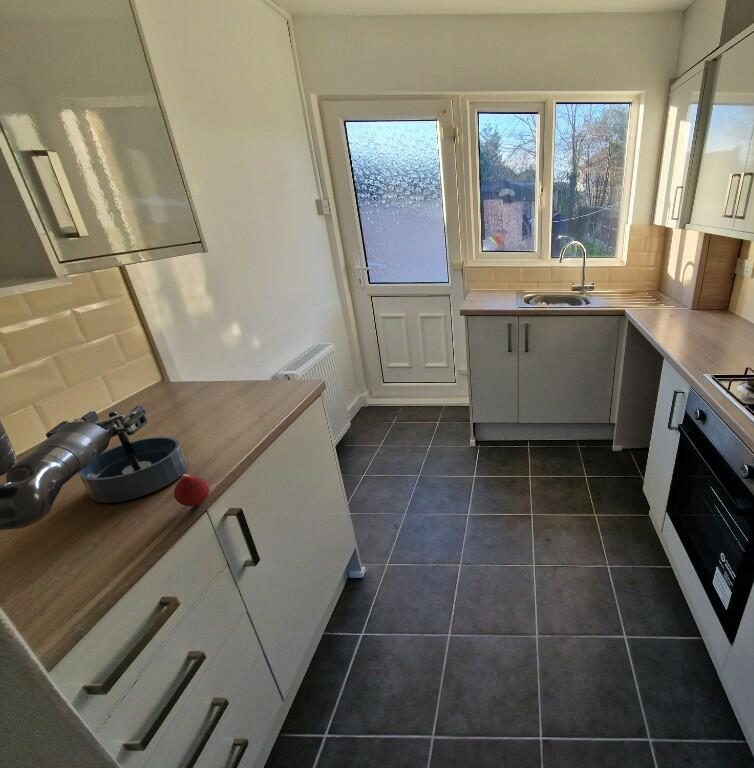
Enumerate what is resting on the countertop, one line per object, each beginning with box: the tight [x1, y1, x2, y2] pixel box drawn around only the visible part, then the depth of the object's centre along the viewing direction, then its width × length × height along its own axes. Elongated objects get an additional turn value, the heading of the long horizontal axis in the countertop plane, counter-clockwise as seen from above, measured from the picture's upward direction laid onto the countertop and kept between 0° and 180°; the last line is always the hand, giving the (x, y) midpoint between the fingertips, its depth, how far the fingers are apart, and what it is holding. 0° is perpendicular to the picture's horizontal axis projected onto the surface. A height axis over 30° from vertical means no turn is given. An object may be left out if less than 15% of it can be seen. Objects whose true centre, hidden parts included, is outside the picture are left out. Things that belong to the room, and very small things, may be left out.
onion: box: [173, 473, 211, 508], centre depth 86 cm, size 6×6×8 cm
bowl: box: [77, 436, 188, 504], centre depth 95 cm, size 17×17×6 cm
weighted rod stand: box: [108, 411, 152, 475], centre depth 92 cm, size 5×5×17 cm
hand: (118, 412), depth 91 cm, fingers open, 8 cm apart
